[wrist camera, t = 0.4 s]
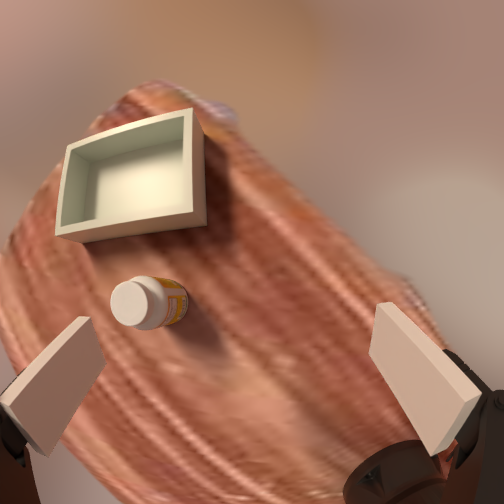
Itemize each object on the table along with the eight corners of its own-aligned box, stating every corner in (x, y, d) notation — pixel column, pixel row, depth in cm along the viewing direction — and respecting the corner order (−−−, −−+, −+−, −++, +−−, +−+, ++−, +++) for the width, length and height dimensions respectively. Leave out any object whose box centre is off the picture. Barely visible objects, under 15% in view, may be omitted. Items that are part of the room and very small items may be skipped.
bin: (207, 225, 32) (192, 211, 26) (82, 243, 33) (54, 235, 27) (204, 133, 34) (192, 107, 28) (89, 161, 35) (67, 145, 29)
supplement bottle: (196, 312, 30) (165, 321, 21) (159, 330, 31) (118, 343, 21) (177, 271, 31) (140, 263, 22) (142, 289, 31) (97, 288, 22)
